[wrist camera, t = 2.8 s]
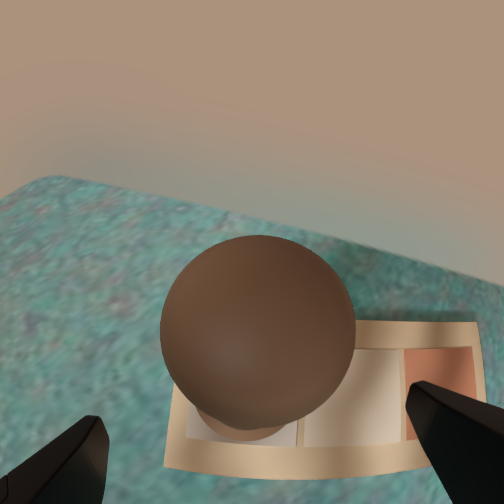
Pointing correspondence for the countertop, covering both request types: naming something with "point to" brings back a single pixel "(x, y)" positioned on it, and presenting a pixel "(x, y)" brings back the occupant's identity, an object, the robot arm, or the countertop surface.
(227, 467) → the board
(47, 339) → the countertop surface
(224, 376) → the pawn
